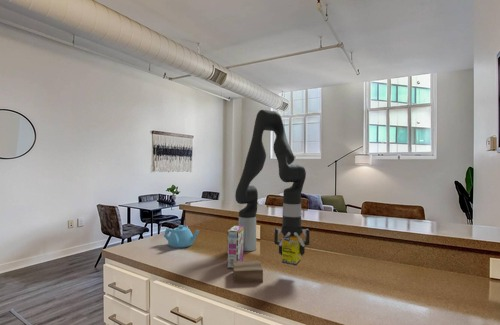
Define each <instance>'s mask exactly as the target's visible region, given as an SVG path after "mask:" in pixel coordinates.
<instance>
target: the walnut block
mask: <svg viewBox="0 0 500 325" xmlns="http://www.w3.org/2000/svg"><path fill="white" fill-rule="evenodd" d="M232 276H233V283H236V284H252V283H253V284H254V283H264V270H263V267H262V264H261V262H260V260H258V259H257V260H243V261H233V269H232Z"/></svg>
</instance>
